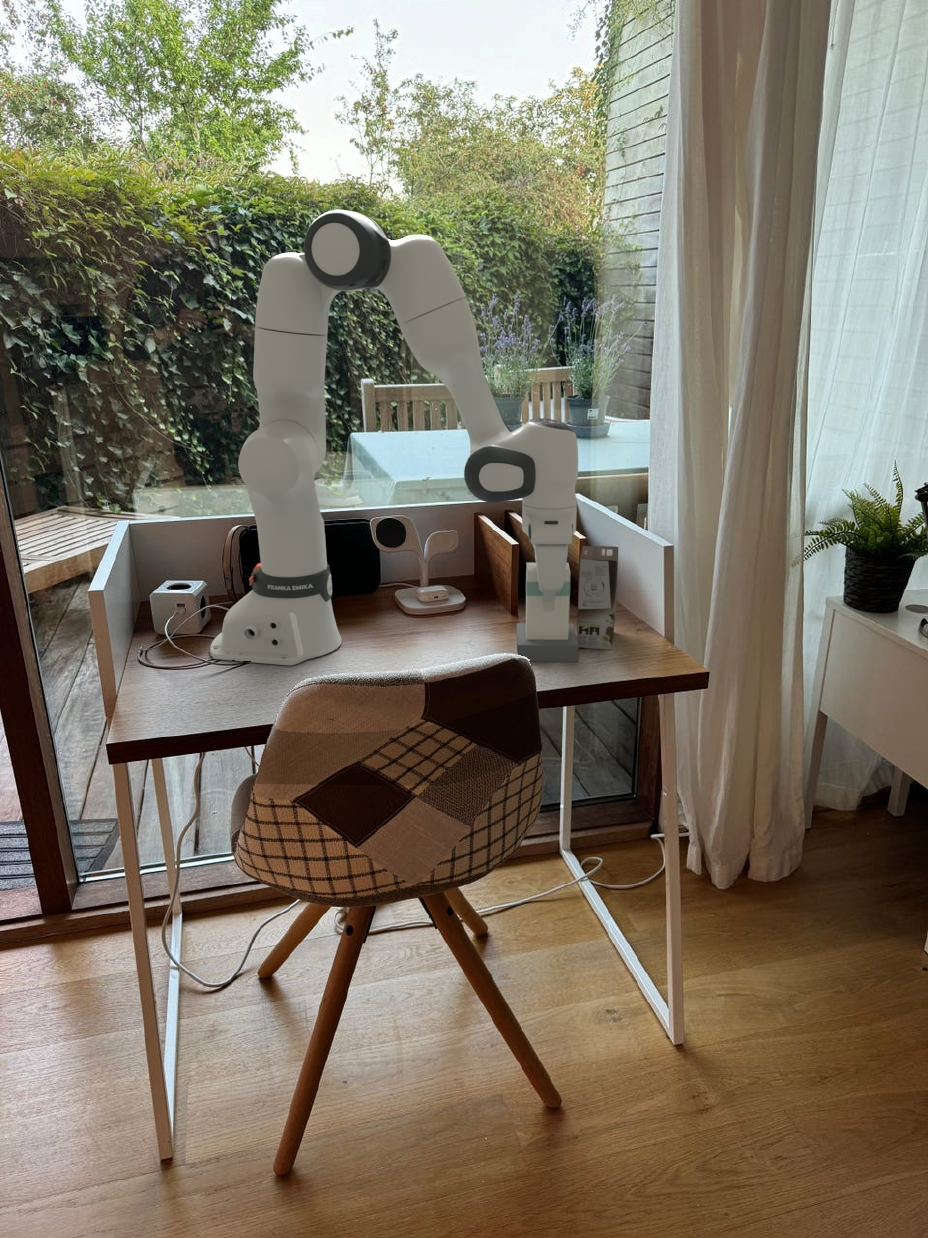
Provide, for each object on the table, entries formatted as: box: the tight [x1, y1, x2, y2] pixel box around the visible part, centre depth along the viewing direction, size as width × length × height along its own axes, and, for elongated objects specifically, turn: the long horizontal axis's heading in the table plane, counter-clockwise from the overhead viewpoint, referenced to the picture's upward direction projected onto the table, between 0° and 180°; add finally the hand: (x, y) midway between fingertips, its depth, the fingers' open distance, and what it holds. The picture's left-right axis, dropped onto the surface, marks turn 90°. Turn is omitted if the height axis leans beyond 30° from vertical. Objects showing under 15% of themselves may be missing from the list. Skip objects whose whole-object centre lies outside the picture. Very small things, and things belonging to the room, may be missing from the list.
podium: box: [516, 623, 579, 663], centre depth 151 cm, size 10×10×3 cm
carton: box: [525, 562, 571, 640], centre depth 148 cm, size 7×5×12 cm
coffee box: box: [576, 545, 619, 651], centre depth 153 cm, size 9×6×16 cm
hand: (547, 600), depth 148 cm, fingers open, 8 cm apart
